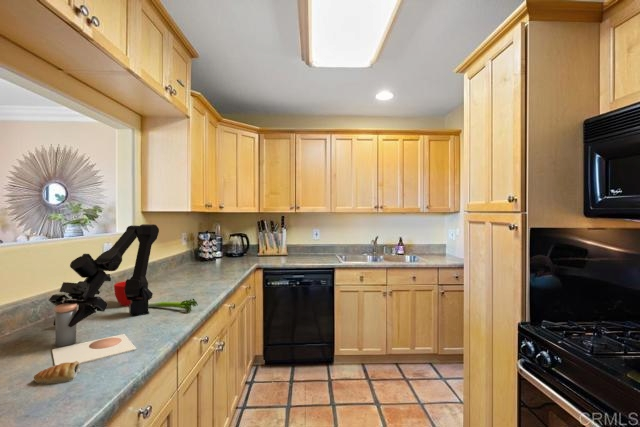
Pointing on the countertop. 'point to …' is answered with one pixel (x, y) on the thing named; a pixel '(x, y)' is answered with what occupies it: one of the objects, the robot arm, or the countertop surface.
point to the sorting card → (93, 350)
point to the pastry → (58, 373)
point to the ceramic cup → (121, 294)
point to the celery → (174, 304)
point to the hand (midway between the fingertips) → (62, 326)
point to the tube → (65, 325)
